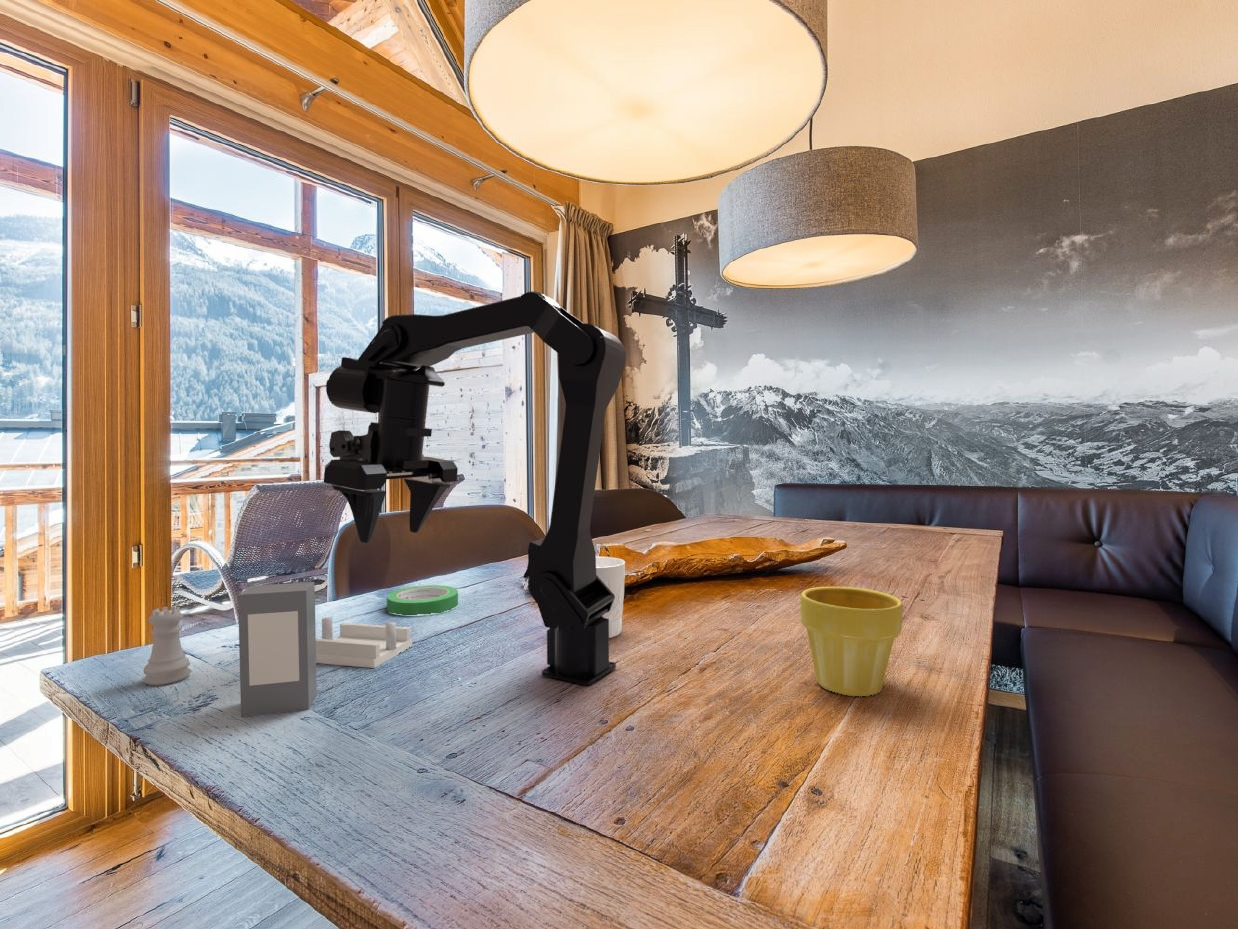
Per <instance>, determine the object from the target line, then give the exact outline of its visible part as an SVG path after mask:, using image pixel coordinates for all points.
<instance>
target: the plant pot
mask: <svg viewBox="0 0 1238 929" xmlns="http://www.w3.org/2000/svg"><path fill="white" fill-rule="evenodd" d="M903 607H904V606H903V602H902V601H901V600H900V599H899V598H898V597H896V596H894V595H892V594H889V593H885V592H881V591H876V590H873V589H867V588H861V587H860V588H859V587H849V586H817V587H812V588H807V589H805V590H803V591H802V592H801V594H800V622H801V624H802V625H803V627H805V628H806V630H807V631H806V632H807V635H808V636H807V637H808V641H809V646H810V652H811V656H812V664H813V668H814V673H815V679H816V682H817V683H818V685H820V687H821V688H823V689H825V690H827V691H829V692H831V691H832V692H831V693H834V692H835V693H834V694H837V693H838V694H837V695H841V694H842V696H846V695H847V696H848V697H855V696H859V698H861V697H862V696H866V697H871V696H870V695H872V696H875V695H877V693H878V692H879V693H881V691H882V687H883V683H884V680H885V676H886V672H887V669H888V664H889V660H890V656H891V651H892V649H893V646H894V645H893V644H894V642H895V639H896V638H897V637H898V638H899V636H900V635H901V633H902V628H903V610H904V608H903ZM879 693H878V694H879ZM874 694H875V695H874ZM860 696H861V697H860ZM862 698H863V697H862Z"/></svg>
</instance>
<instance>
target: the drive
mask: <svg viewBox="0 0 1238 929" xmlns="http://www.w3.org/2000/svg"><path fill="white" fill-rule="evenodd" d="M315 587H316V586H315V581H309V582H291V583H277V584H276V583H274V584H258V585H255V584H254V585H249V586H248V587H246V588H245V589H243V591H241V592H240V593H238V595H237V601H238V603H237V605H238V606H237V608H238V611H237V612H238V643H239V644H238V646H239V648H238V650H239V651H238V654H239V686H240V688H239V690H240V691H239V694H240V717H242V718H245V717H253V716H262V715H270V714H271V715H272V714H279V713H280V714H281V713H289V712H297V711H298V712H299V711H306V710H307V711H308V710H310V708H311V706H312V705H313V702H314V700H315V698H316V697H317V694H318V689H317V688H318V687H317V686H318V684H317V682H318V679H317V663H316V639H317V636H316V593H315V592H316V590H315V589H316V588H315Z"/></svg>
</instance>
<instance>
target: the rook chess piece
mask: <svg viewBox="0 0 1238 929" xmlns="http://www.w3.org/2000/svg"><path fill="white" fill-rule="evenodd" d="M182 618H184V613H182V612H181V611H180V607H179V606H177V605H174V606H171V607H170V609H169V610H168V606H165V607H164V606H163V607H161V611H160V608H155V609H153V610H151V615H150V616H149V618H147V622H149V624H150V625H151V626H152V630H151V632H150V634H151V636H152V640H153V641H152V647H151V654H150V657H149V659H147V662H148V663H147V664H146V665H145V666H144V668H143V670H142V671H143V674H144V675H145V676H144V677H142V681H143V683H145V684H146V685H147V684H148V686H150V685H154V687H155V686H156V687H158V685H160V686H167V685H171V683H172V684H175V682H176V683H178V681H179V682H181V681H183V680H185V679H187V678H188V677H189V676H190V674H191V672H192V670H191V668H189V666H190V665H191V662H190V660H189V658H188V657H186V653H184V652H183V649H182V643H181V639H180V631H181V630H182V628H181V626H180V621H181V620H182ZM166 684H167V685H166Z"/></svg>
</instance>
